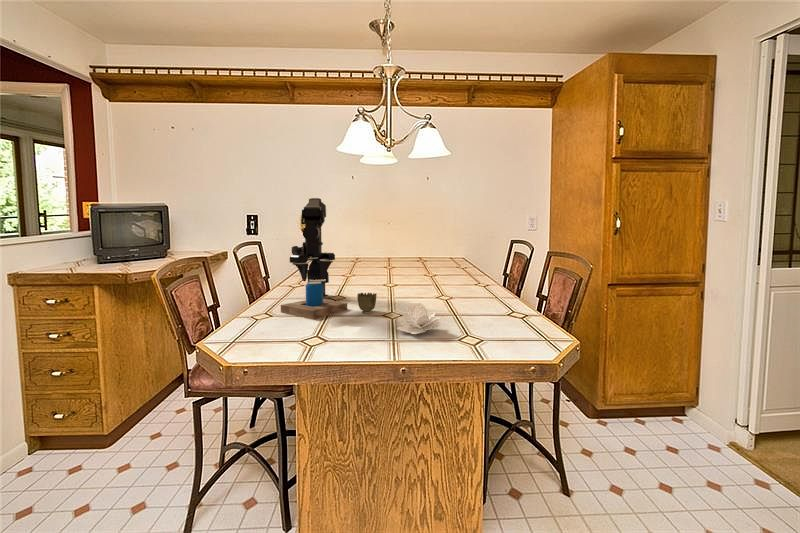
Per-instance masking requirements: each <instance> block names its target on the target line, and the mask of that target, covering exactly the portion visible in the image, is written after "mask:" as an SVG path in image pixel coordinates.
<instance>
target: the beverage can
mask: <svg viewBox="0 0 800 533" xmlns="http://www.w3.org/2000/svg"><path fill="white" fill-rule="evenodd" d="M305 300H306V306H311V307H316V306H321V305H323V300H324V297H323V285H322V284H321V282H318V281H313V282H308V281H307V282H306V284H305Z"/></svg>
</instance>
